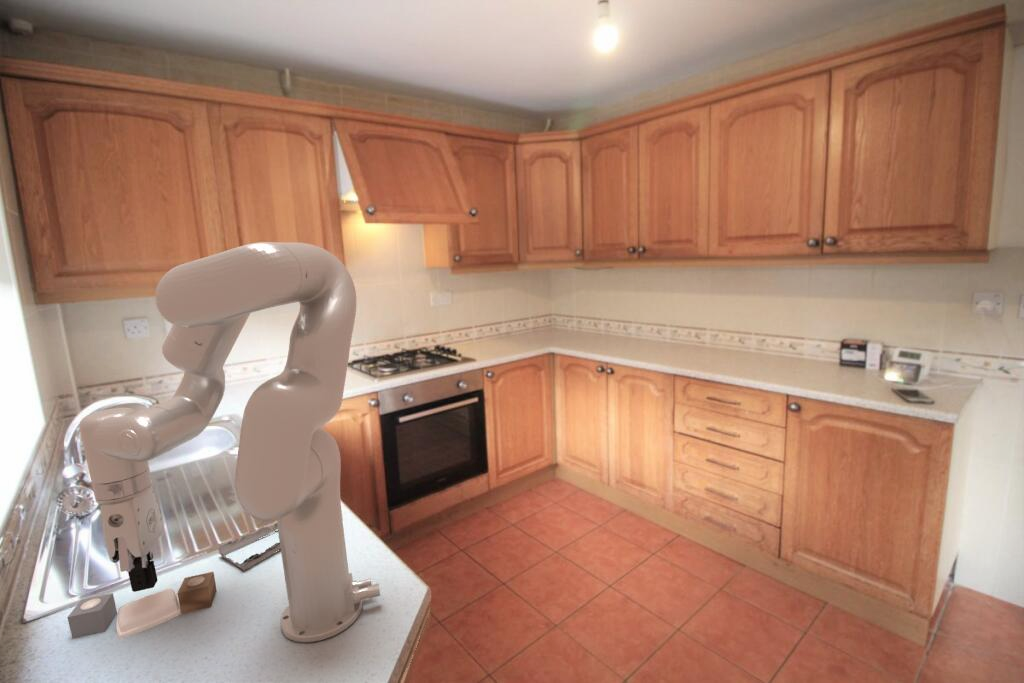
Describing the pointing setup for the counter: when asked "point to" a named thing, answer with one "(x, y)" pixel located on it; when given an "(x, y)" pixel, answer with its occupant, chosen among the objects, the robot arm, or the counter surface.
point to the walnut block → (197, 592)
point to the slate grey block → (92, 615)
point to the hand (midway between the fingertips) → (145, 586)
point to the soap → (147, 613)
